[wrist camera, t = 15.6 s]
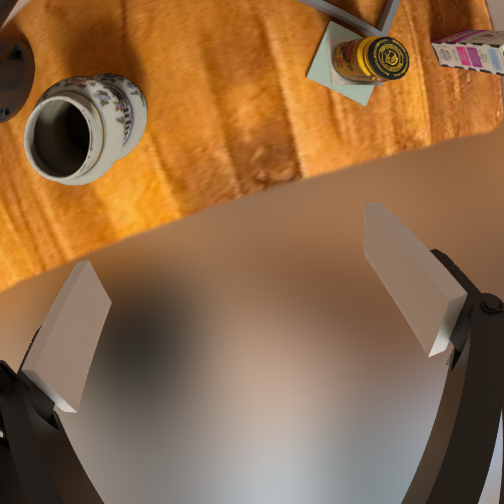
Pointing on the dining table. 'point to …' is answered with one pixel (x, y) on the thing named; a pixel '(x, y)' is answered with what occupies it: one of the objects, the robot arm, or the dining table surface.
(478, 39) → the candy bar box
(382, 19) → the grey holder frame
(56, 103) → the apothecary jar
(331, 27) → the pad
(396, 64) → the condiment
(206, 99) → the dining table surface
